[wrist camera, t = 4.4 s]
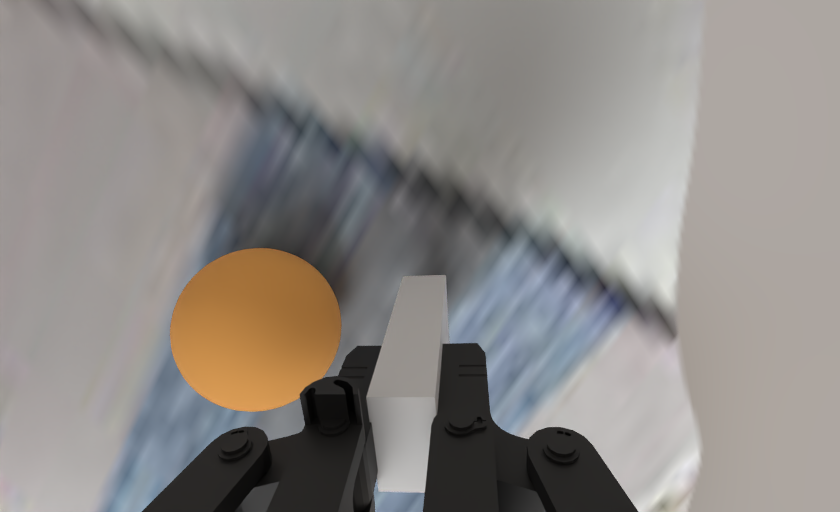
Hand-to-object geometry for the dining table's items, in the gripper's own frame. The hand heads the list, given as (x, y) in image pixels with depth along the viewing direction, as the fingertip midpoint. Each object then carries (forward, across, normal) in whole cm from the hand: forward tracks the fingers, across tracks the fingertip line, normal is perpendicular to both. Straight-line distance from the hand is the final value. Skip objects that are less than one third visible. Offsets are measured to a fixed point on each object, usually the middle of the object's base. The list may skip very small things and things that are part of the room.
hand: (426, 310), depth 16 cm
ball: (-1, +6, 0) cm, 6 cm away
